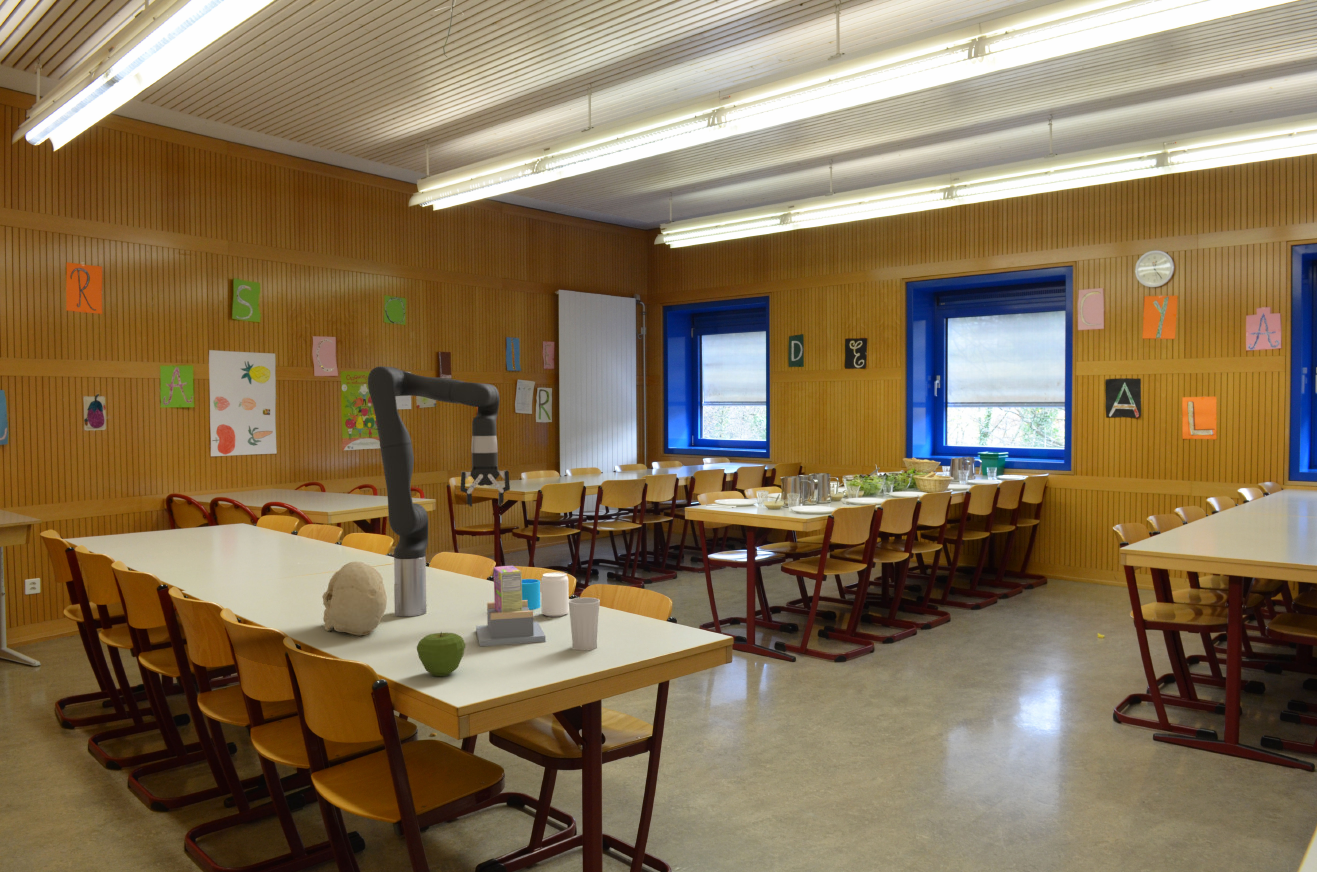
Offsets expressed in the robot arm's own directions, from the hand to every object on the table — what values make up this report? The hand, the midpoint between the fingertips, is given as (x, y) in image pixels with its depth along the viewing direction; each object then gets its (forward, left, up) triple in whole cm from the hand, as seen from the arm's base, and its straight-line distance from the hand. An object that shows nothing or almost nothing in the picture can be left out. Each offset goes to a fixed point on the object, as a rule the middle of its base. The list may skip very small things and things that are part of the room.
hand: (485, 505), depth 261 cm
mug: (+12, +12, -33) cm, 37 cm away
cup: (+22, -42, -33) cm, 58 cm away
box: (+4, -25, -27) cm, 37 cm away
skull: (-38, -6, -33) cm, 51 cm away
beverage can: (+20, -2, -33) cm, 39 cm away
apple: (-14, -56, -33) cm, 67 cm away
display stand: (+4, -25, -33) cm, 42 cm away
